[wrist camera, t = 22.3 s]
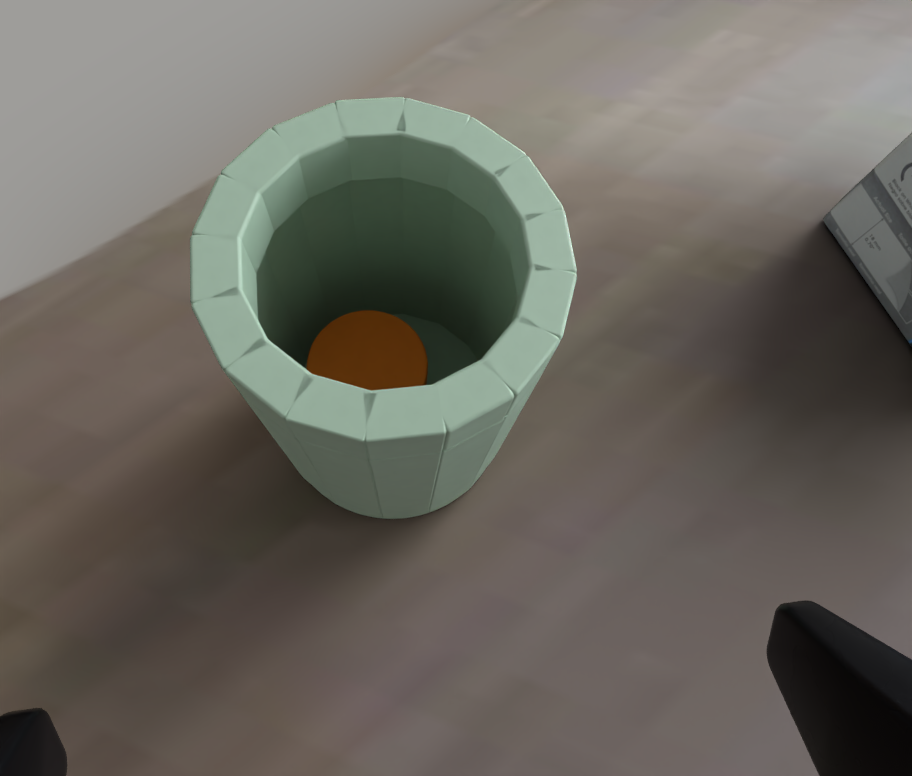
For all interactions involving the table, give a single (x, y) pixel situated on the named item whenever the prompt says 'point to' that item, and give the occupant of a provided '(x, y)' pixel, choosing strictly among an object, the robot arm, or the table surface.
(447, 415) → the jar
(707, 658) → the table surface
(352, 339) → the cylinder
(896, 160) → the blue grey retail box
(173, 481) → the table surface
